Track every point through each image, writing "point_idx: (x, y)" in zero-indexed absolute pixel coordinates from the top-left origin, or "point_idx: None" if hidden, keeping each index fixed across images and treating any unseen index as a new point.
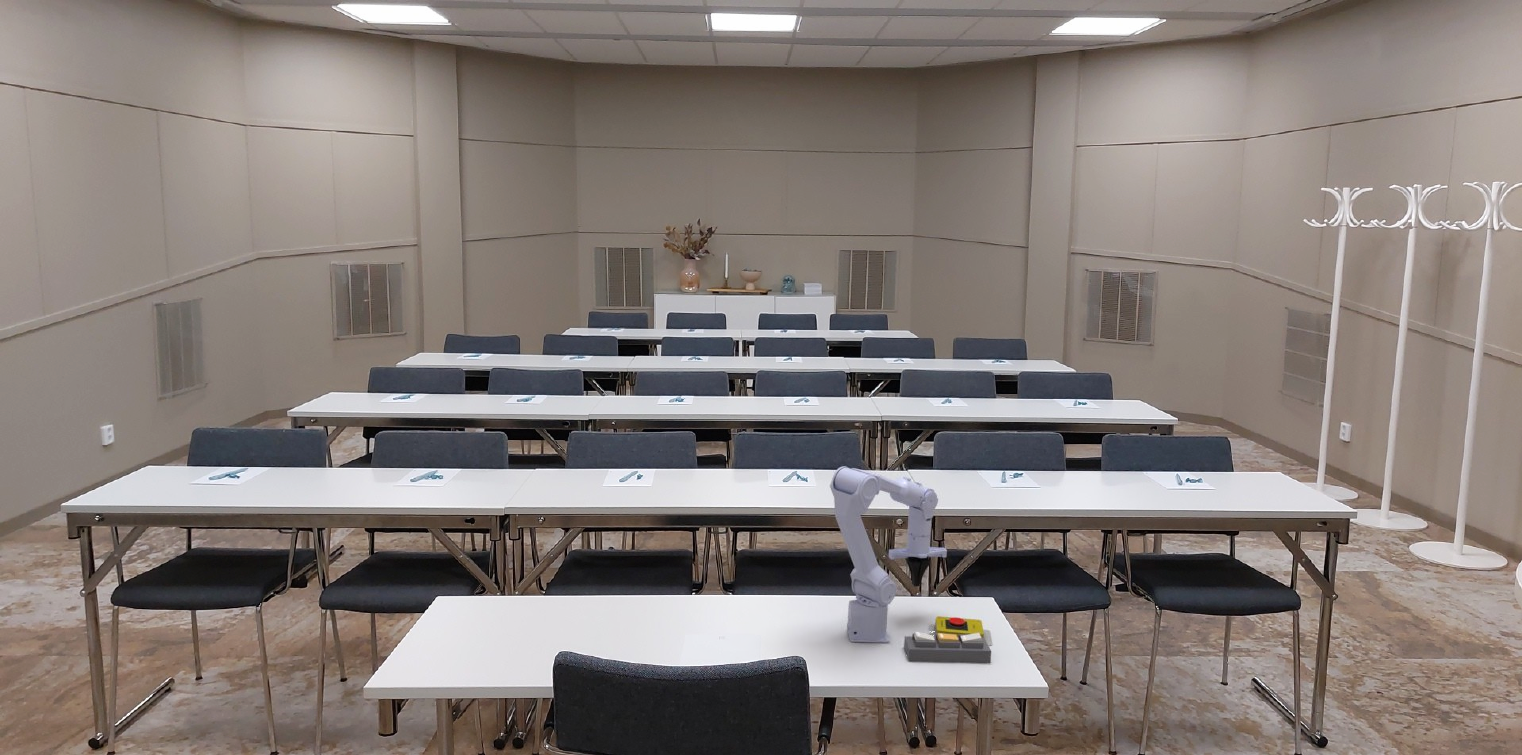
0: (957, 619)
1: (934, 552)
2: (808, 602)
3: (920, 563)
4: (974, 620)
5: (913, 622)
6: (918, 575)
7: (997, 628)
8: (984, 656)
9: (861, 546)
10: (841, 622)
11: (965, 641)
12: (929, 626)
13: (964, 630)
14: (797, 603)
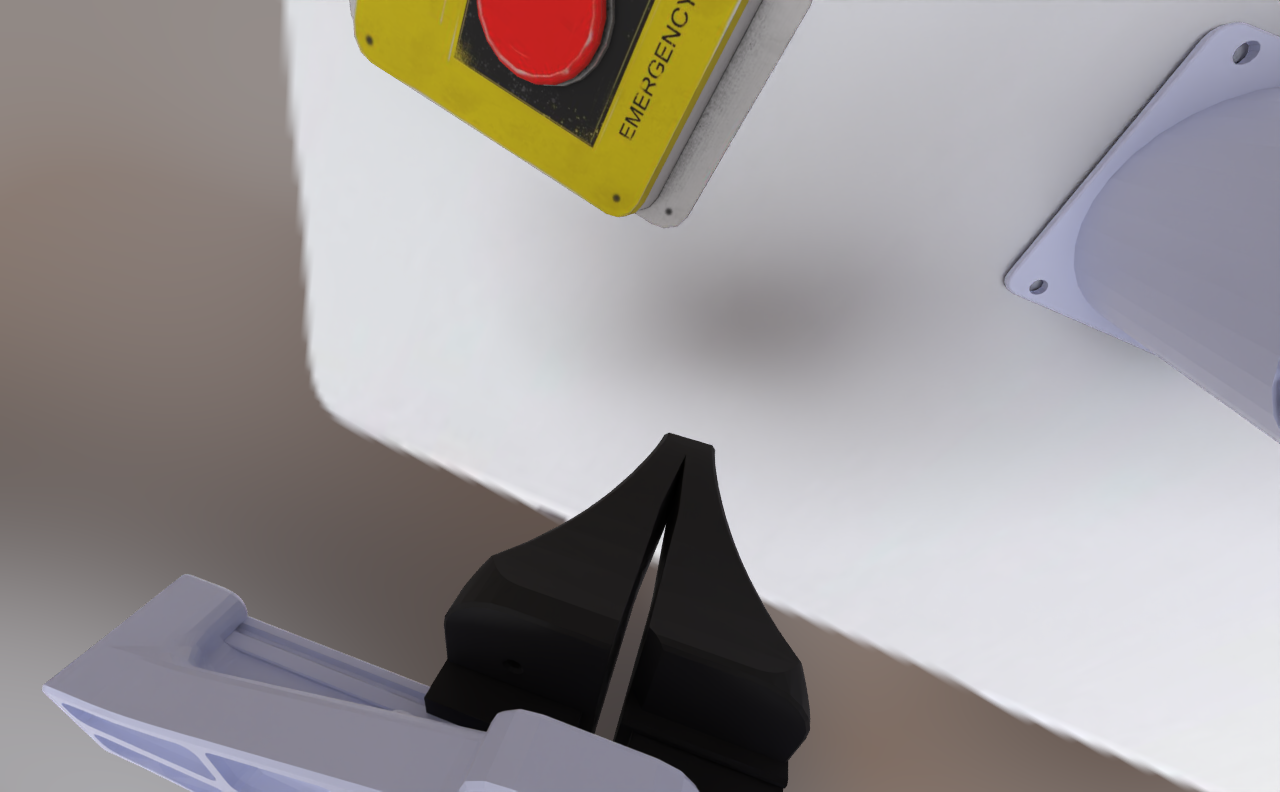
0: (525, 18)
1: (259, 750)
2: (1089, 683)
3: (618, 635)
4: (398, 56)
5: (741, 306)
6: (660, 512)
7: (300, 45)
8: None
9: None
10: (1171, 471)
11: None
12: (686, 213)
13: None
14: (1154, 700)
